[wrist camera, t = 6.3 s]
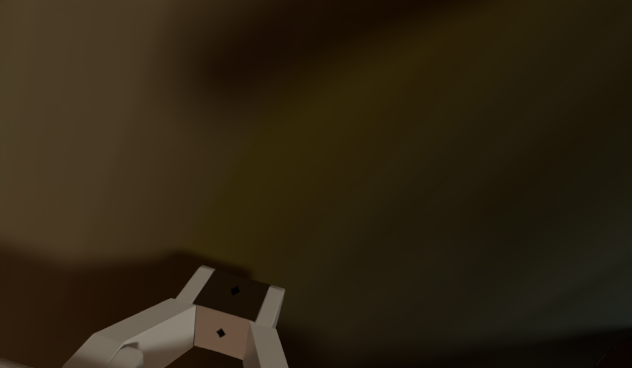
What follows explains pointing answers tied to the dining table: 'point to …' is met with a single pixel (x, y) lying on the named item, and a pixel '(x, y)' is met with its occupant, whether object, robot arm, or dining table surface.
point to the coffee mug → (618, 356)
